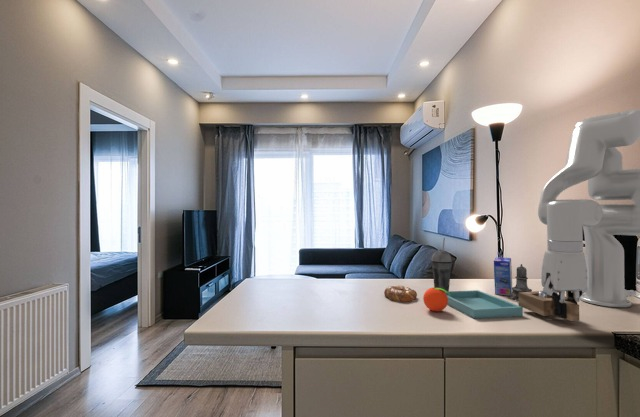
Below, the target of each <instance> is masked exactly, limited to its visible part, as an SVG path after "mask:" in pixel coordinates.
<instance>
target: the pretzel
mask: <svg viewBox="0 0 640 417" xmlns="http://www.w3.org/2000/svg"><path fill="white" fill-rule="evenodd" d="M383 296H384V297H385V298H386V299H389V300H391V301H393V302H400V303H411V302H413V301H416V300H417V297H418V293H417V292H416V290H414V289H412V288H410V287H406V286H405V285H404V286H403V285H397V286H395V285H390V286H388V287H386V288H385V289H384V295H383Z"/></svg>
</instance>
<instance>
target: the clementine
mask: <svg viewBox="0 0 640 417" xmlns="http://www.w3.org/2000/svg"><path fill="white" fill-rule="evenodd" d="M444 291H445V292H447V291H446V290H444V289H441V288H436V287H434V286H433V287H430V288H428V289H426V291H425V292H424V294H423V297H422V299H423V302H424V306H425V307H426V308H427V309H428V310H430V311H433V312H442V311H443V310H444V309H446V307H447V306H448V305H447V304H448V297H447V295H446V293H445V292H444ZM447 293H448V292H447ZM448 294H449V293H448ZM449 295H450V294H449ZM450 297H451V296H450Z"/></svg>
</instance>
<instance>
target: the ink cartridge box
mask: <svg viewBox="0 0 640 417" xmlns="http://www.w3.org/2000/svg"><path fill="white" fill-rule="evenodd" d="M497 255H498V257H497V256H496V257H495V258H494V260H493V276H494V278H493V279H494V280H493V281H494V295H498V296H499V295H500V296H507V297H508V296H509V297H511V296H512V294H513V290H512V289H511V288H512V287H513V271H512V270H513V266H512V258H511V257H503V256H502V255H501V253H500V252H499V251H498V252H497Z"/></svg>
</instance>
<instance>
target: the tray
mask: <svg viewBox="0 0 640 417" xmlns="http://www.w3.org/2000/svg"><path fill="white" fill-rule="evenodd" d="M447 292H448V293H449V294H450V295H449V294H448V293H447ZM447 292H445V293H446V295H447V297H448V304H447V306H449V307H451V308H453V309H454V310H456V311H458V312H459V313H462V314H464V315H466V316H468V317H470V318H472V319H474V320H478V319H479V320H480V319H493V318H494V319H495V318H496V319H497V318H509V317H510V318H511V317H512V316H515V317H524V315H523V314H524V313H523V310H524V308H523V307H521V306H519V304H515V303H514V302H510V301H507V300H505V299H502V298H499V297H497V296H494V295H492V294H489V293H486V292H483V291H481V290H479V289H476V290H475V289H474V290H451V291H450V290H449V291H447ZM450 296H451V297H450ZM512 318H513V317H512Z"/></svg>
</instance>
